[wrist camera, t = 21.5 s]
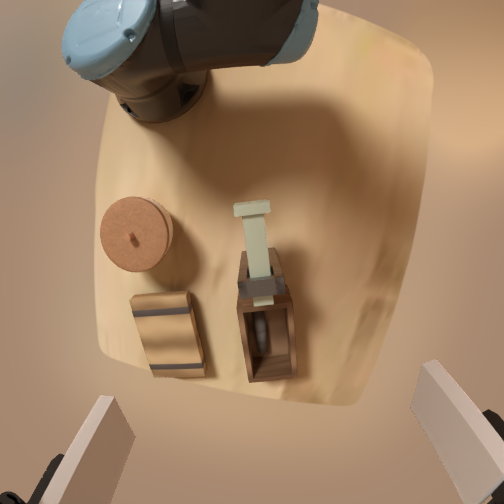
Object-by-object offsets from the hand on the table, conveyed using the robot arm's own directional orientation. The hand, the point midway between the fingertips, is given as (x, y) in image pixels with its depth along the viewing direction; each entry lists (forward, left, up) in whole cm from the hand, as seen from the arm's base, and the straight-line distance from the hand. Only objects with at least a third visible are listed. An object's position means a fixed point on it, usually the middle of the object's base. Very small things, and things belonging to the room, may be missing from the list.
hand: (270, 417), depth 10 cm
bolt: (0, 0, -27) cm, 27 cm away
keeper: (+3, 0, -37) cm, 37 cm away
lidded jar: (-4, -17, -37) cm, 41 cm away
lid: (+15, -17, -36) cm, 42 cm away
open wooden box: (+16, 0, -37) cm, 40 cm away
